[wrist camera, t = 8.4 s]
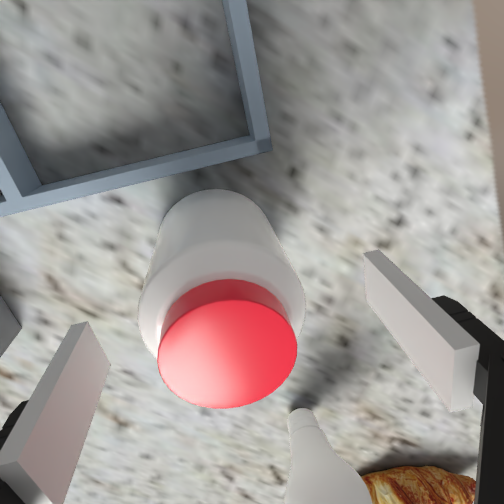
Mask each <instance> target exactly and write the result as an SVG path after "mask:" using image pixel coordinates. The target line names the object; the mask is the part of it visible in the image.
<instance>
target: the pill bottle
mask: <svg viewBox="0 0 504 504" xmlns="http://www.w3.org/2000/svg"><path fill="white" fill-rule="evenodd" d="M305 315H306V300H305V294H304V289H303V287H302V285H301V282H300V280H299V278H298V275H297V273H296V271H295V270H294V268H293V266H292V264H291V262H290V260H289V258H288V256H287V255H286V253H285V251H284V249H283V247H282V245H281V243H280V241H279V239H278V238H277V236H276V234H275V232H274V230H273V228H272V226H271V224H270V222H269V221H268V219H267V217H266V215H265V214H264V213H263V211H262V210H261V209H260V207H259V206H257V205H256V204H255V203H254V202H253V201H252V200H250V199H249V198H247V197H245V196H244V195H242V194H239V193H236V192H233V191H230V190H223V189H208V190H203V191H199V192H195V193H193V194H190V195H188V196H186V197H184V198H183V199H181V200H180V201H179V202H177V203H176V204H175V205H174V206H173V207H172V208H171V209H170V210H169V211H168V212H167V214H166V215H165V217H164V219H163V221H162V223H161V225H160V228H159V232H158V235H157V239H156V242H155V246H154V250H153V253H152V257H151V260H150V264H149V267H148V271H147V275H146V278H145V282H144V285H143V289H142V293H141V296H140V300H139V304H138V324H139V329H140V334H141V337H142V339H143V341H144V343H145V345H146V347H147V349H148V350H149V351H150V352H151V354H152V355H153V356H154V357H155V359H157V362H158V368H159V372H160V375H161V377H162V379H163V381H164V383H165V384H166V385H167V386H168V387H169V389H170V390H171V391H172V392H174V393H175V394H176V395H177V396H178V397H180V398H182V399H184V400H186V401H187V402H189V403H192V404H195V405H198V406H201V407H208V408H225V409H226V408H234V407H240V406H244V405H247V404H251V403H253V402H256V401H258V400H260V399H262V398H264V397H266V396H267V395H269V394H270V393H272V392H273V391H275V390H276V389H277V388H278V387H279V386H280V385H281V384H282V383H283V382H284V381H285V380H286V378H287V377H288V376H289V374H290V372H291V370H292V369H293V367H294V364H295V360H296V357H297V341H296V340H297V339H298V337H299V335H300V333H301V331H302V328H303V324H304V321H305Z"/></svg>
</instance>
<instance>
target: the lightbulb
mask: <svg viewBox="0 0 504 504" xmlns="http://www.w3.org/2000/svg"><path fill="white" fill-rule="evenodd" d="M287 424H288V430H289V434H290V440H289V446H290V452H291V469H290V473H289V477H288V480H287V485H286V490H285V496H284V504H372V500H371V496H370V494H369V491H368V489H367V486H366V484H365V483H364V481H363V480H362V478H361V477H360V475H359V474H358V473H357V472H356V471H355V470H354V469H353V468H352V467H351V466H350V465H349V464H348V463H347V462H346V461H345V460H343V459H342V458H341V457H340V456H339V455H338V454H337V453H336V452H335V451H334V450H333V448H332V447H331V445H330V443H329V442H328V440H327V438H326V435H325V433H324V432H323V430H322V429H320V427H319V424H318V422H317V420H316V417H315V415H314V413H313V412H312V411H311V410H309V409H306V408H298V409H296V410H294V411H293V412H291V413H290V414H289V416H288V418H287Z"/></svg>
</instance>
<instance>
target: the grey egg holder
mask: <svg viewBox="0 0 504 504" xmlns="http://www.w3.org/2000/svg"><path fill="white" fill-rule="evenodd" d="M21 329H22V328H21V326H20V325H19V323H18V322H17V320H16V318H15V317H14V315H13V314H12V312H11V311H10V309H9V308H8V306H7V305H6V303H5V302H4V300H3V299H2V297H1V295H0V357H1V356H2V355H3V353H4V352H5V350H6V349H7V348H8V346H9V345H10V344H11V342H12V341H13V340H14V338H15V337H16V336H17V334H18V333H19V332H20V330H21Z"/></svg>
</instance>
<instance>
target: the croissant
mask: <svg viewBox="0 0 504 504" xmlns="http://www.w3.org/2000/svg"><path fill="white" fill-rule="evenodd" d="M361 478H362V480H363V481H364V483H365V484H366V486H367V489H368V491H369V494H370V496H371V500H372V504H472V503H473V501H474V499H475V488H476V481H475V480H474V479H473V478H470V477H468V476H464V475H457V474H454V473H449V472H447V471H445V470H443V469H441V468H436V467H435V466H427V465H426V466H423V467H412V466H402V467H396V468H391V469H389V470H385V471H378V472H373V473H369V474H366V475H363V476H361Z"/></svg>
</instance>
